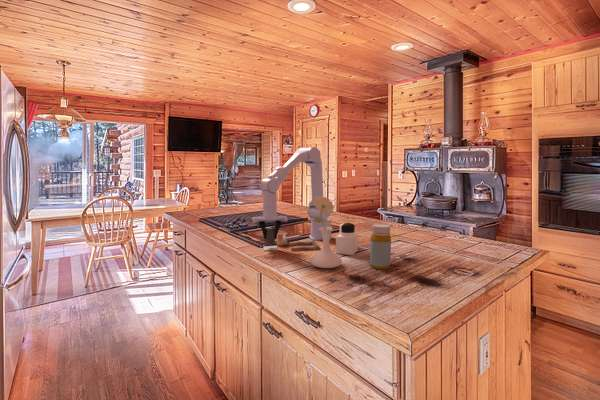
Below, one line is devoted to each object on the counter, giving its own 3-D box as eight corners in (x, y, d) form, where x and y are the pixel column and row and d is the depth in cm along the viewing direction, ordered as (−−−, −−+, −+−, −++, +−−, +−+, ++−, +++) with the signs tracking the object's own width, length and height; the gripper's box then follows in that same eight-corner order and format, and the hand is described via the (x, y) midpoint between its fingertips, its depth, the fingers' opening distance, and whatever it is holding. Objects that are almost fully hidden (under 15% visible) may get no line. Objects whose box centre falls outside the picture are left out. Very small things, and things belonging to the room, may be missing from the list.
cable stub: (276, 241, 146) (275, 227, 146) (273, 243, 143) (273, 229, 142) (267, 241, 147) (267, 227, 147) (264, 243, 143) (264, 229, 143)
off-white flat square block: (276, 246, 149) (276, 245, 149) (277, 250, 143) (277, 249, 143) (263, 247, 148) (263, 246, 148) (264, 250, 142) (264, 250, 142)
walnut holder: (314, 243, 154) (314, 241, 153) (319, 249, 144) (319, 246, 144) (288, 244, 152) (288, 242, 151) (291, 250, 142) (291, 248, 142)
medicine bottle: (357, 251, 141) (358, 222, 140) (352, 255, 135) (353, 225, 133) (341, 249, 144) (341, 221, 143) (335, 253, 138) (335, 224, 136)
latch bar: (284, 239, 160) (284, 229, 160) (287, 245, 150) (287, 234, 150) (275, 240, 160) (275, 229, 159) (277, 245, 150) (277, 234, 149)
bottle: (367, 264, 124) (368, 223, 122) (386, 263, 125) (387, 223, 123) (373, 270, 117) (374, 227, 115) (392, 269, 118) (394, 227, 116)
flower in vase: (348, 267, 120) (349, 197, 117) (322, 273, 114) (323, 199, 111) (326, 258, 131) (326, 193, 128) (301, 263, 125) (301, 195, 122)
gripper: (285, 205, 148) (285, 235, 150) (251, 206, 146) (252, 237, 147) (287, 207, 141) (288, 239, 143) (252, 208, 139) (253, 241, 140)
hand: (270, 238), depth 145 cm, fingers closed on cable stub, 4 cm apart
